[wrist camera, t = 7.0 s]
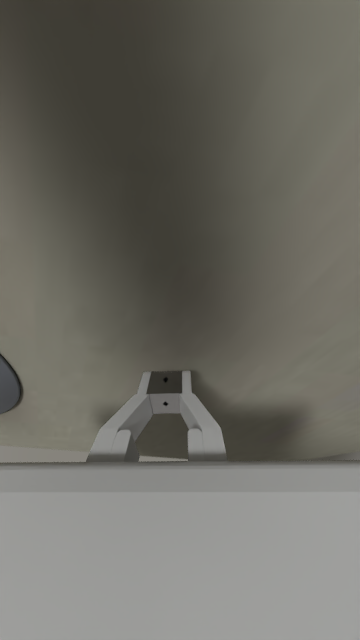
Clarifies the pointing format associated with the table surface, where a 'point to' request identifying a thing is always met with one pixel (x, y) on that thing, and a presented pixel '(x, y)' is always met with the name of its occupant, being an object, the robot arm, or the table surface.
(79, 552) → the robot arm
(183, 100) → the table surface
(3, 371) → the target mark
